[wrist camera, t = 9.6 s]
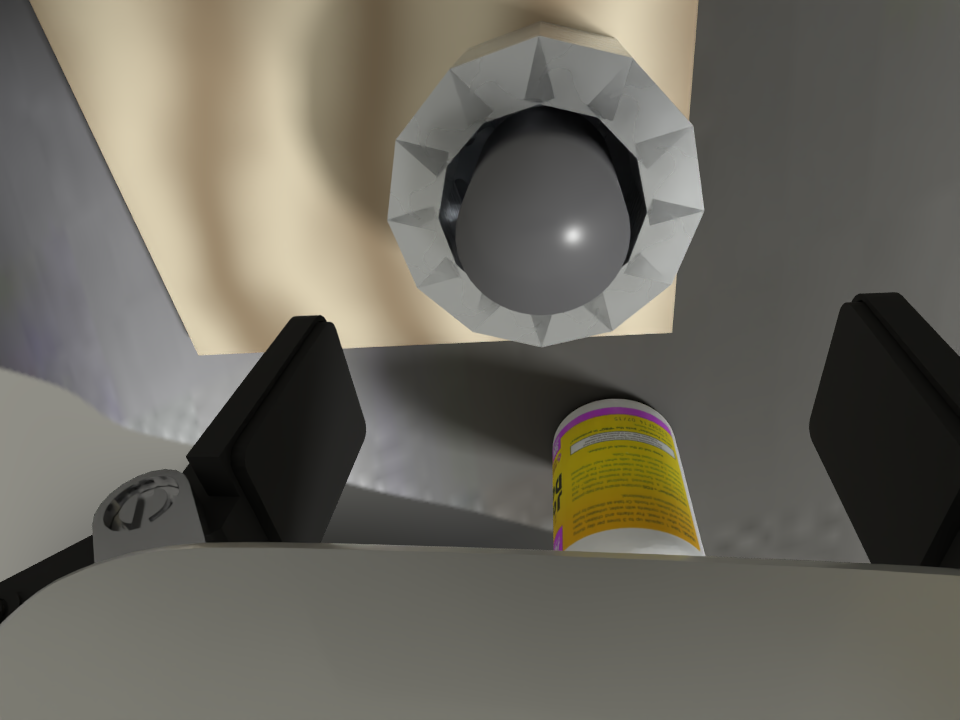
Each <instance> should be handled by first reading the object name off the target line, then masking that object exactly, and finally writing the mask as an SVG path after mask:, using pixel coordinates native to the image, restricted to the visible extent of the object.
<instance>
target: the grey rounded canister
mask: <svg viewBox="0 0 960 720" xmlns="http://www.w3.org/2000/svg"><path fill="white" fill-rule="evenodd" d="M629 242H630V221H629V215H628V211H627V208H626V204H625V201H624V198H623V194H622V191H621V188H620V185H619V181H618V178H617V175H616V171H615V168H614V165H613V162H612V158H611V155H610V152H609V149H608V146H607V144H606V142H605V140H604V138H603V137H602V135H601V133H600V132H599V131H598V130H597V128H596V127H595V126H594V125H593V124H592V123H591V122H590V121H588V120H587V119H586V118H584V117H583V116H581V115H580V114H578V113H576V112H572V111H568V110H564V109H559V108H555V107H551V106H538V107H532V108H528V109H525V110H522V111H520V112H517V113H515V114H513V115H512V116H510V117H508V118H507V119H506V120H504V121H503V122H502V123H500V124H499V125H498V126H497V127H496V128H495V130H494V131H493V132H492V133H491V135H490V136H489V137H488V139H487V141H486V142H485V144H484V146H483V148H482V151H481V153H480V156H479V159H478V161H477V164H476V167H475V169H474V172H473V175H472V178H471V180H470V183H469V186H468V188H467V191H466V194H465V197H464V199H463V202H462V205H461V207H460V210H459V214H458V218H457V223H456V246H457V252H458V255H459V259H460V262H461V264H462V266H463V269H464V271H465V273H466V274H467V276H468V277H469V279H470V280H471V282H472V283H473V284H474V285H475V286H476V288H477V289H478V290H479V291H480V292H482V293H483V294H484V295H485V296H486V297H488V298H489V299H490V300H492V301H493V302H495V303H497V304H499V305H500V306H502V307H505V308H507V309H510V310H512V311H516V312H519V313H524V314H530V315H553V314H558V313H564V312H567V311H570V310H573V309H576V308H578V307H580V306H583V305H585V304H586V303H588V302H590V301H592V300H593V299H594V298H596V297H597V296H598V295H600V294H601V293H602V292H603V291H604V290H605V289H606V288H607V287H608V286H609V285H610V284H611V283H612V281H613V280H614V279H615V278H616V276H617V274H618V273H619V271H620V270H621V268H622V265H623V263H624V261H625V259H626V255H627V252H628V249H629Z"/></svg>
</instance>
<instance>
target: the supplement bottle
mask: <svg viewBox="0 0 960 720" xmlns="http://www.w3.org/2000/svg"><path fill="white" fill-rule="evenodd" d="M553 533H554V550H556V551H583V552H611V553H638V554H664V555H688V556H705V553H704V549H703V546H702V542H701V538H700V534H699V530H698V527H697V523H696V519H695V515H694V511H693V507H692V503H691V499H690V495H689V491H688V487H687V483H686V480H685V476H684V472H683V468H682V464H681V460H680V456H679V452H678V448H677V445H676V441H675V437H674V434H673V431H672V429H671V427H670V425H669V424H668V422H667V421H666V420H665V419H664V417H663V416H661V415H660V414H659V413H658V412H657V411H656V410H654V409H652V408H651V407H649V406H647V405H645V404H642V403H640V402H636V401H632V400H626V399H604V400H599V401H595V402H592V403H589V404H586V405H584V406H582V407H580V408H578V409H576V410H575V411H573V412H572V413H570V414H569V415H568V416H567V417H566V418H565V419H564V420H563V421H562V423H561V424H560V425H559V427H558V429H557V431H556V433H555V436H554V440H553Z"/></svg>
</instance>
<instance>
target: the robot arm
mask: <svg viewBox="0 0 960 720" xmlns="http://www.w3.org/2000/svg"><path fill="white" fill-rule="evenodd" d="M809 430H810V436H811V439H812V442H813V444H814V446H815V448H816V450H817V452H818V454H819V456H820V458H821V461H822V463H823V465H824V467H825V469H826V471H827V473H828V475H829V477H830V479H831V481H832V483H833V485H834V487H835V489H836V492H837V494H838V496H839V498H840V500H841V502H842V504H843V506H844V508H845V510H846V512H847V514H848V516H849V518H850V521H851V523H852V525H853V527H854V529H855V531H856V533H857V535H858V537H859V539H860V541H861V543H862V545H863V547H864V550H865V552H866V554H867V556H868V558H869V560H870V562H871V564H869V563H850V562H832V561H810V560H786V559H761V558H737V557H713V556H688V555H664V554H638V553H611V552H583V551H556V550H526V549H498V548H470V547H438V546H435V547H434V546H403V545H372V544H338V543H321V541H322V538H323V536H324V533H325V531H326V529H327V526H328V524H329V522H330V519H331V517H332V514H333V512H334V510H335V508H336V505H337V503H338V500H339V498H340V496H341V493H342V491H343V489H344V486H345V484H346V482H347V479H348V477H349V475H350V472H351V470H352V467H353V465H354V463H355V460H356V458H357V456H358V453H359V451H360V449H361V446H362V444H363V442H364V439H365V434H366V424H365V420H364V416H363V413H362V410H361V407H360V404H359V400H358V397H357V394H356V391H355V388H354V384H353V381H352V378H351V375H350V372H349V368H348V365H347V362H346V359H345V356H344V353H343V349H342V346H341V343H340V340H339V337H338V333H337V330H336V327H335V325H334V324H333V323H332V322H327V321H326V319H325V318H324V317H323V316H322V315H309V316H293V317H292V318H291V319H290V320H289V321H288V323H287V324H286V325H285V327H284V328H283V329H282V330H281V332H280V333H279V334H278V336H277V337H276V338H275V340H274V341H273V342H272V344H271V345H270V346H269V348H268V349H267V350H266V352H265V353H264V354H263V355H262V357H261V358H260V359H259V361H258V362H257V363H256V365H255V366H254V367H253V369H252V370H251V371H250V373H249V374H248V375H247V377H246V378H245V379H244V380H243V382H242V383H241V384H240V386H239V387H238V388H237V390H236V391H235V392H234V394H233V395H232V396H231V398H230V399H229V400H228V402H227V403H226V404H225V405H224V407H223V408H222V409H221V411H220V412H219V413H218V415H217V416H216V417H215V419H214V420H213V421H212V423H211V424H210V425H209V427H208V428H207V429H206V430H205V432H204V433H203V434H202V436H201V437H200V438H199V440H198V441H197V442H196V444H195V445H194V446H193V448H192V449H191V450H190V452H189V453H188V454H187V456H186V458H187V459H188V461H189V465H188V466H187V467H186V469H185V470H184V471H183V473H181V472H179V471H177V470H168V469H163V470H157V471H151V472H148V473H145V474H142V475H139V476H137V477H135V478H133V479H131V480H130V481H128V482H126V483H124V484H122V485H121V486H120V487H118V488H117V489H116V490H114V491H113V492H112V493H110V494H109V495H108V497H107V498H106V499H105V500H104V501H103V502H102V503H101V504H100V506H99V507H98V509H97V511H96V512H95V514H94V518H93V523H92V531H93V535H91V536H89V537H87V538H85V539H83V540H81V541H79V542H78V543H76V544H74V545H72V546H70V547H68V548H66V549H64V550H62V551H60V552H58V553H56V554H54V555H52V556H51V557H48V558H47V559H45V560H43V561H41V562H39V563H37V564H35V565H33V566H31V567H29V568H27V569H25V570H24V571H21V572H19V573H17V574H16V575H14V576H12V577H10V578H8V579H6V580H4V581H2V582H0V720H960V357H959V356H958V355H957V354H956V352H955V351H954V350H953V349H952V348H951V347H950V346H949V345H948V344H947V343H946V342H945V341H944V340H943V339H942V338H941V337H940V335H939V334H938V333H937V332H936V331H935V330H934V329H933V328H932V327H931V326H930V325H929V324H928V323H927V322H926V321H925V320H924V318H923V317H922V316H921V315H920V314H919V313H918V312H917V311H916V310H915V309H914V308H913V307H912V306H911V305H910V304H909V303H908V302H907V300H906V299H905V298H904V297H903V296H902V295H900V294H899V293H895V292H891V293H866V294H858V295H856V296H855V297H854V299H853V300H852V302H848V303H844V304H843V305H842V307H841V309H840V312H839V315H838V319H837V322H836V326H835V330H834V333H833V337H832V341H831V344H830V348H829V352H828V355H827V359H826V363H825V366H824V370H823V374H822V377H821V381H820V384H819V388H818V392H817V395H816V399H815V403H814V406H813V410H812V414H811V417H810V422H809Z"/></svg>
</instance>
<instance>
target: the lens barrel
mask: <svg viewBox="0 0 960 720" xmlns="http://www.w3.org/2000/svg"><path fill="white" fill-rule="evenodd" d="M538 106H551V107H555V108H559V109H564V110H568V111H572V112H576V113H578V114H580V115H581V116H583V117H584V118H586V119H587V120H588V121H590V122H591V123H592V124H593V125H594V126H595V127H596V128H597V130H598V131H599V132H600V133H601V135H602V137H603V138H604V140H605V142H606V144H607V146H608V149H609V152H610V155H611V158H612V162H613V165H614V168H615V171H616V175H617V178H618V181H619V185H620V188H621V191H622V194H623V198H624V201H625V204H626V208H627V211H628V215H629V221H630V242H629V249H628V252H627V255H626V259H625V261H624V263H623V265H622V268H621V270H620V271H619V273H618V274H617V276H616V278H615V279H614V280H613V281H612V283H611V284H610V285H609V286H608V287H607V288H606V289H605V290H604V291H603V292H602V293H601V294H600V295H598V296H597V297H596V298H594V299H593V300H592V301H590V302H588V303H586V304H585V305H583V306H580V307H578V308H576V309H573V310H570V311H567V312H564V313H558V314H553V315H530V314H524V313H519V312H516V311H512V310H510V309H507V308H505V307H502V306H500V305H499V304H497V303H495V302H493V301H492V300H490V299H489V298H488V297H486V296H485V295H484V294H483V293H482V292H480V291H479V290H478V289H477V288H476V286H475V285H474V284H473V283H472V282H471V280H470V279H469V277H468V276H467V274H466V273H465V271H464V269H463V266H462V264H461V262H460V259H459V255H458V252H457V246H456V223H457V218H458V214H459V210H460V207H461V205H462V202H463V199H464V197H465V194H466V191H467V188H468V186H469V183H470V180H471V178H472V175H473V172H474V169H475V167H476V164H477V161H478V159H479V156H480V153H481V151H482V148H483V146H484V144H485V142H486V141H487V139H488V137H489V136H490V135H491V133H492V132H493V131H494V130H495V128H496V127H497V126H498V125H499V124H500V123H502V122H503V121H504V120H506V119H507V118H508V117H510V116H512V115H513V114H515V113H517V112H520V111H522V110H525V109H528V108H532V107H538ZM703 212H704V205H703V197H702V190H701V182H700V174H699V167H698V159H697V151H696V144H695V136H694V128H693V125H692V124H691V123H690V122H689V120H688V119H687V118H686V117H685V116H684V115H683V114H682V112H681V111H680V110H679V109H678V108H677V107H676V106H675V104H674V103H673V102H672V101H671V100H670V99H669V98H668V96H667V95H666V94H665V93H664V92H663V91H662V90H661V89H660V88H659V87H658V85H657V84H656V83H655V82H654V81H653V80H652V79H651V78H650V76H649V75H648V74H647V73H646V72H645V71H644V70H643V69H642V67H641V66H640V65H639V64H638V63H637V62H636V61H635V60H634V58H633V57H632V56H631V55H630V54H629V53H628V52H627V51H626V50H625V48H624V47H623V46H622V45H621V44H620V43H619V41H618V40H617V39H616V38H612V37H608V36H604V35H599V34H595V33H591V32H587V31H583V30H578V29H574V28H570V27H566V26H562V25H557V24H553V23H549V22H545V21H539V22H536V23H534V24H531V25H528V26H526V27H523V28H520V29H518V30H515V31H513V32H510V33H507V34H505V35H502V36H499V37H497V38H494V39H491V40H489V41H486V42H484V43H481V44H478V45H476V46H473V47H470V48H469V49H468V50H467V51H466V52H465V53H464V54H463V55H462V56H461V57H460V58H459V59H458V60H457V61H456V62H455V63H454V65H453V66H452V67H451V68H450V69H449V70H448V72H447V73H446V74H445V76H444V77H443V78H442V80H441V81H440V82H439V84H438V85H437V86H436V87H435V89H434V90H433V91H432V93H431V94H430V95H429V97H428V98H427V99H426V101H425V102H424V103H423V105H422V106H421V107H420V109H419V110H418V111H417V112H416V114H415V115H414V116H413V118H412V119H411V120H410V122H409V123H408V124H407V126H406V127H405V128H404V130H403V131H402V132H401V134H400V135H399V136H398V138H397V139H396V141H395V151H394V160H393V170H392V180H391V189H390V199H389V208H388V218H387V221H388V223H389V225H390V228H391V230H392V232H393V234H394V237H395V239H396V241H397V243H398V246H399V248H400V250H401V253H402V255H403V257H404V259H405V262H406V264H407V266H408V268H409V271H410V273H411V275H412V277H413V280H414V282H415V284H416V287H417V288H418V289H419V290H420V291H422V292H423V293H424V294H425V295H427V296H428V297H429V298H430V299H432V300H433V301H434V302H435V303H437V304H438V305H439V306H440V307H442V308H443V309H444V310H446V311H447V312H448V313H449V314H451V315H452V316H453V317H454V318H456V319H457V320H458V321H459V322H461V323H462V324H463V325H464V326H466V327H467V328H468V329H470V330H471V331H472V332H475V333H479V334H484V335H489V336H493V337H498V338H502V339H507V340H511V341H516V342H520V343H525V344H529V345H534V346H538V347H545V346H549V345H554V344H558V343H562V342H567V341H571V340H576V339H580V338H585V337H589V336H594V335H598V334H602V333H607V332H611V331H613V330H615V329H616V328H617V327H618V326H620V325H621V324H622V323H623V322H625V321H626V320H627V319H628V318H630V317H631V316H632V315H634V314H635V313H636V312H637V311H639V310H640V309H641V308H642V307H644V306H645V305H646V304H647V303H649V302H650V301H651V300H652V299H654V298H655V297H656V296H658V295H659V294H660V293H661V292H663V291H664V290H665V289H666V288H668V287H669V286H670V285H671V284H672V283H673V280H674V278H675V276H676V274H677V271H678V269H679V267H680V265H681V262H682V260H683V258H684V255H685V253H686V251H687V249H688V246H689V244H690V242H691V240H692V237H693V235H694V233H695V231H696V228H697V226H698V224H699V222H700V219H701V217H702V215H703Z"/></svg>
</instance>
